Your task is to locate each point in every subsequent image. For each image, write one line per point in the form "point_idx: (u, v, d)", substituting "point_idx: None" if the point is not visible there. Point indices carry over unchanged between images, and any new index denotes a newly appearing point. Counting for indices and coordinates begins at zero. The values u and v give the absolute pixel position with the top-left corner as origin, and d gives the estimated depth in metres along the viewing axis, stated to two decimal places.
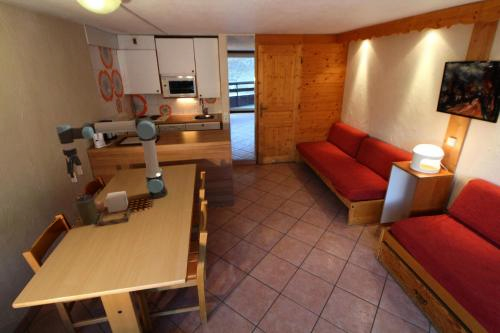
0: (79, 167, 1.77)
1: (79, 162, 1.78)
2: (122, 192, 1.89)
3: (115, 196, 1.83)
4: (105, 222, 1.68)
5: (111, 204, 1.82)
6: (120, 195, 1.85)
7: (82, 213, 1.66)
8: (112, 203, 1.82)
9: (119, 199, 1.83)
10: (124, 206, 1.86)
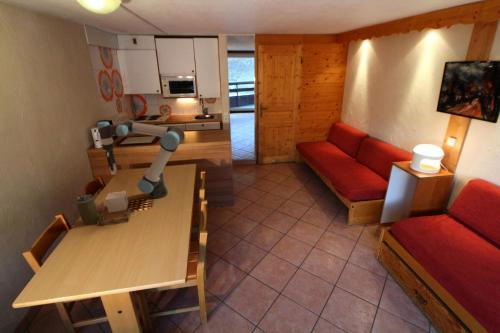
0: (114, 165, 1.89)
1: None
2: (122, 192, 1.89)
3: (115, 196, 1.83)
4: (105, 222, 1.68)
5: (111, 204, 1.82)
6: (120, 195, 1.85)
7: (82, 213, 1.66)
8: (112, 203, 1.82)
9: (119, 199, 1.83)
10: (124, 206, 1.86)
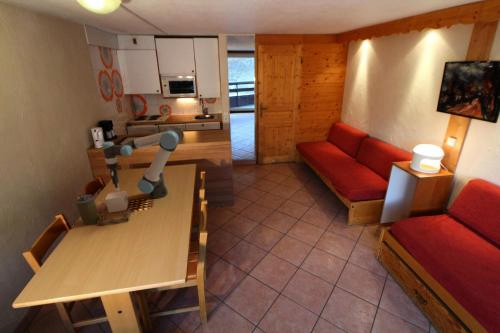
0: None
1: (117, 179, 1.94)
2: (122, 192, 1.89)
3: (115, 196, 1.83)
4: (105, 222, 1.68)
5: (111, 204, 1.82)
6: (120, 195, 1.85)
7: (82, 213, 1.66)
8: (112, 203, 1.82)
9: (119, 199, 1.83)
10: (124, 206, 1.86)
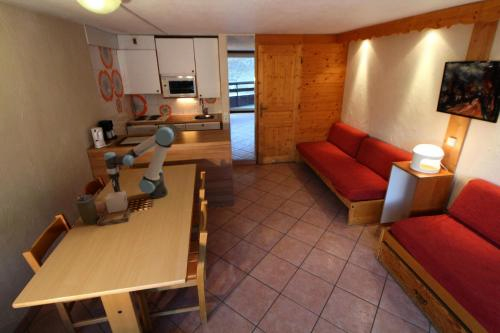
0: None
1: None
2: (122, 192, 1.89)
3: (115, 196, 1.83)
4: (105, 222, 1.68)
5: (110, 204, 1.82)
6: (119, 195, 1.84)
7: (82, 213, 1.66)
8: (112, 203, 1.82)
9: (119, 199, 1.82)
10: (124, 206, 1.85)
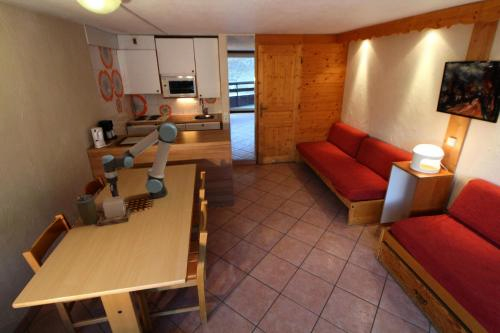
0: None
1: (117, 192, 1.89)
2: (120, 197, 1.82)
3: (113, 201, 1.76)
4: (105, 222, 1.68)
5: (108, 210, 1.75)
6: (117, 200, 1.77)
7: (82, 213, 1.66)
8: (109, 208, 1.75)
9: (117, 204, 1.75)
10: (122, 211, 1.78)
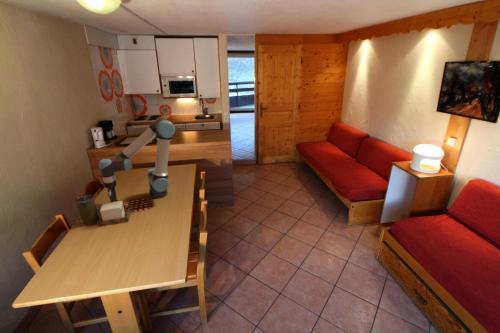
0: None
1: None
2: (118, 202, 1.75)
3: (111, 207, 1.69)
4: (105, 222, 1.68)
5: (106, 216, 1.68)
6: (116, 206, 1.71)
7: (82, 213, 1.66)
8: (107, 214, 1.68)
9: (115, 210, 1.68)
10: (121, 217, 1.71)
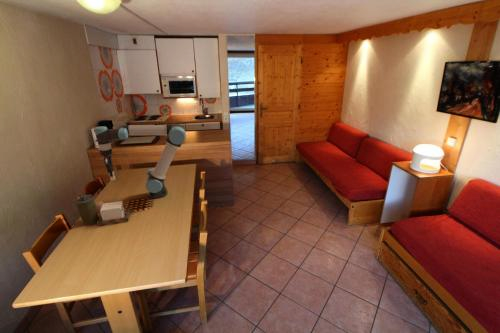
0: None
1: None
2: (118, 202, 1.75)
3: (111, 207, 1.69)
4: (105, 222, 1.68)
5: (106, 216, 1.68)
6: (116, 206, 1.70)
7: (82, 213, 1.66)
8: (107, 214, 1.68)
9: (115, 210, 1.68)
10: (121, 217, 1.71)
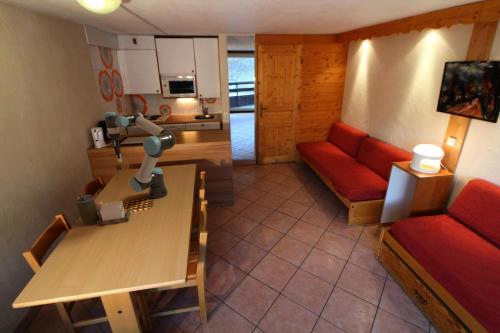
0: None
1: (119, 150, 1.98)
2: (118, 202, 1.75)
3: (111, 207, 1.69)
4: (105, 222, 1.68)
5: (106, 216, 1.68)
6: (116, 206, 1.70)
7: (82, 213, 1.66)
8: (107, 214, 1.68)
9: (115, 210, 1.68)
10: (121, 217, 1.71)
